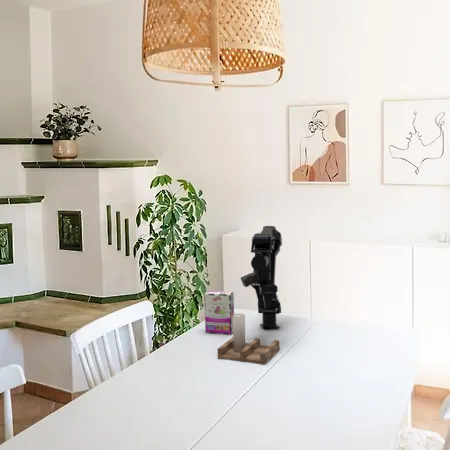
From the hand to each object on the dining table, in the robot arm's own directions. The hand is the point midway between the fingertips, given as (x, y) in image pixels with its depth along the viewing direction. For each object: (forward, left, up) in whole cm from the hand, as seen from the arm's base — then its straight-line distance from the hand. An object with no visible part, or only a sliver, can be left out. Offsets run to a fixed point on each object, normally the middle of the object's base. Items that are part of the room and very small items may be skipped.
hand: (263, 306), depth 234 cm
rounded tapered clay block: (+13, -13, -12) cm, 22 cm away
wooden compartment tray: (+15, -10, -13) cm, 22 cm away
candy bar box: (-13, -15, -13) cm, 24 cm away
